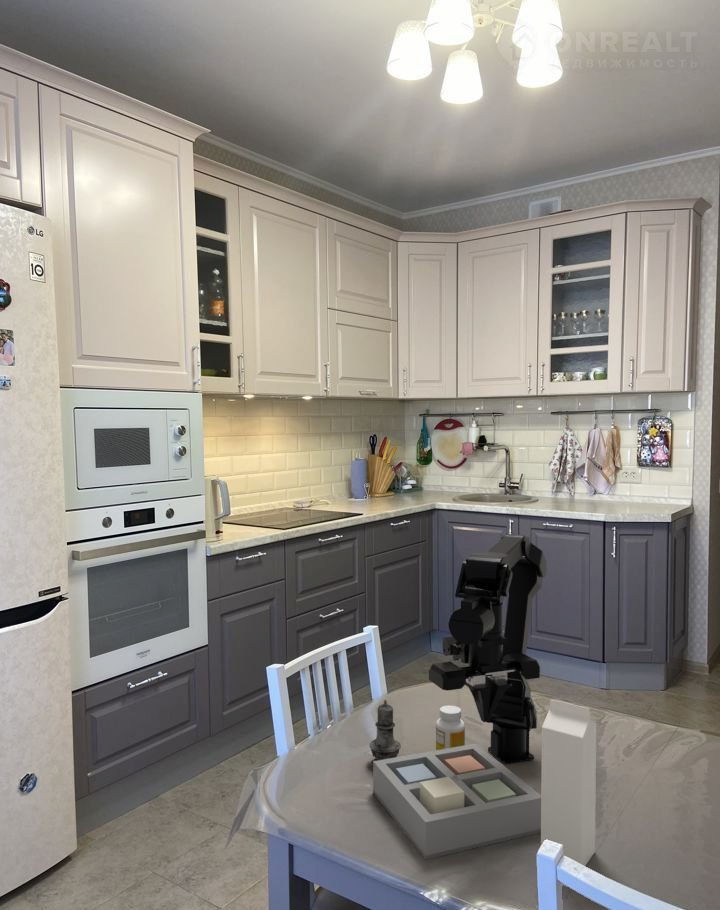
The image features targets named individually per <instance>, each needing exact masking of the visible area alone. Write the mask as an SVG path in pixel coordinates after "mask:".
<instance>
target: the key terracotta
mask: <svg viewBox="0 0 720 910" xmlns="http://www.w3.org/2000/svg"><path fill="white" fill-rule="evenodd" d="M445 766H446V767H448V768H449V769H450V770H451V771H452V772H453V773H454V774H455V775H460V774H465V773H470V772H476V771H481V770H485V767H483V766H482V765H481V764H480V763H479V762H478V761H476V760H475V759H474V758H473V757H472V756H470V755H469V756H463V757H457V758H452V759H446V760H445Z"/></svg>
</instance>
